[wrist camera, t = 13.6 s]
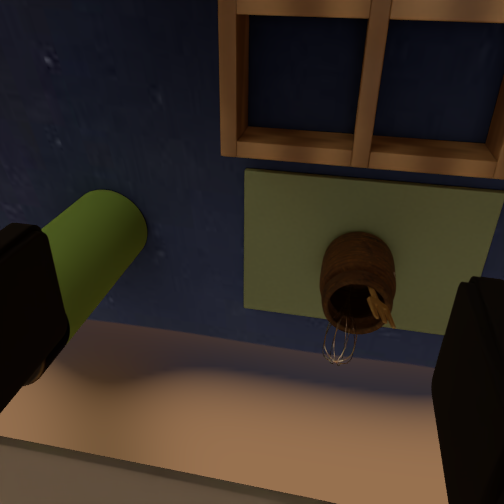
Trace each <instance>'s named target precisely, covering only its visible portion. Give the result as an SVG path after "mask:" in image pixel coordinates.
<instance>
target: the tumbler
mask: <svg viewBox="0 0 504 504" xmlns="http://www.w3.org/2000/svg"><path fill="white" fill-rule="evenodd" d="M41 230H42V232H44V233H46V235H47V236H48V239H49V244H50V248H51V252H52V257H53V261H54V265H55V270H56V274H57V278H58V283H59V287H60V291H61V296H62V300H63V304H64V309H65V313H66V317H67V330H66V333H65V335H64V336H63V338H62V339H61V340H60V341H59V342H58V344H57V345H56V346H55V347H54V348H53V350H52V351H51V352H50V353H49V355H48V356H47V357H46V358H45V359H44V361H43V362H42V363H41V364H40V366H39V367H38V368H37V369H36V370H35V372H34V373H33V374H32V375H31V376H30V378H29V379H28V380H27V381H26V383H25V384H24V385H23V386H26V385H29V384H32V383H34V382H35V381H37V380H38V379H39V378H40V377H41V376H42V374H43V373H44V372H45V371H46V369H47V368H48V367H49V365H50V364H51V363H52V362H53V361H54V359H55V358H56V357H57V356H58V354H59V353H60V352H61V351H62V349H63V348H64V347H65V345H66V344H67V343H68V342H69V341H70V339H71V338H72V337H73V336H74V334H75V333H76V332H77V330H78V329H79V328H80V327H81V325H82V324H83V323H84V322H85V321H86V319H87V318H88V317H89V315H90V314H91V313H92V312H93V310H94V309H95V308H96V307H97V305H98V304H99V303H100V302H101V300H102V299H103V298H104V297H105V295H106V294H107V293H108V292H109V290H110V289H111V288H112V287H113V285H114V284H115V283H116V282H117V280H118V279H119V278H120V277H121V275H122V274H123V273H124V272H125V270H126V269H127V268H128V267H129V265H130V264H131V263H132V262H133V260H134V259H135V258H136V256H137V255H138V254H139V253H140V251H141V250H142V249H143V247H144V245H145V243H146V240H147V226H146V222H145V220H144V217H143V215H142V214H141V212H140V211H139V209H138V208H137V207H136V206H135V205H134V204H133V203H132V202H131V201H130V200H129V199H127V198H126V197H124V196H123V195H121V194H119V193H116V192H113V191H109V190H95V191H91V192H88V193H86V194H85V195H83V196H82V197H81V198H80V199H78V200H77V201H76V202H75V203H73V204H72V205H71V206H70V207H68V208H67V209H66V210H65V211H64V212H62V213H61V214H60V215H59V216H57V217H56V218H55V219H54V220H52V221H51V222H50V223H49V224H47V225H46V226H45V227H44V228H42V229H41Z"/></svg>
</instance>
